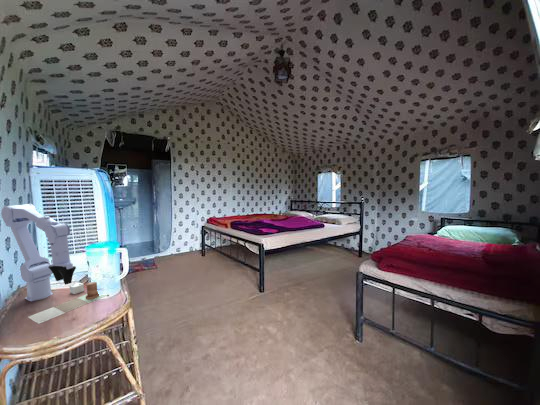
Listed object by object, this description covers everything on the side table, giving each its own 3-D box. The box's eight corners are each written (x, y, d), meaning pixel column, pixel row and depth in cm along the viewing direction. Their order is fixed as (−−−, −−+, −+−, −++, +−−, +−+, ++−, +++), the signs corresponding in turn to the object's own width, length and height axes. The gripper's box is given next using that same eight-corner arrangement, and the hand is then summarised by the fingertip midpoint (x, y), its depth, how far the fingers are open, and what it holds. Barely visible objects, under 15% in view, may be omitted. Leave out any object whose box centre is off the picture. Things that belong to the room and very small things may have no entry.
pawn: (83, 297, 113) (82, 284, 112) (95, 292, 117) (94, 280, 116) (89, 300, 110) (88, 287, 109) (102, 295, 115) (100, 282, 114)
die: (70, 293, 118) (69, 285, 117) (80, 290, 121) (79, 282, 121) (74, 295, 116) (73, 287, 115) (84, 292, 119) (83, 284, 119)
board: (27, 318, 98) (27, 317, 98) (97, 291, 120) (97, 290, 120) (38, 325, 93) (38, 323, 93) (108, 295, 115) (108, 294, 115)
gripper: (40, 252, 107) (44, 282, 108) (56, 257, 100) (60, 289, 102) (60, 247, 113) (64, 276, 115) (77, 252, 106) (80, 282, 108)
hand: (63, 281), depth 109 cm, fingers open, 7 cm apart
